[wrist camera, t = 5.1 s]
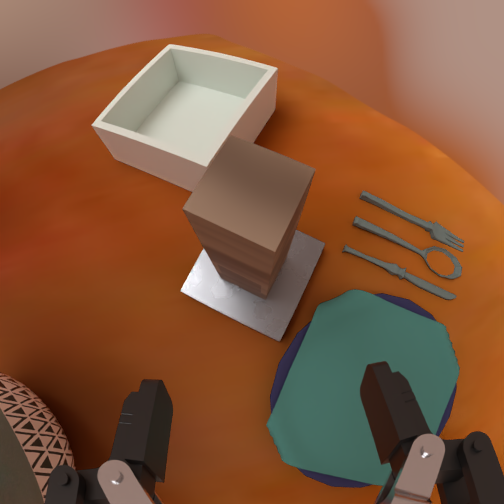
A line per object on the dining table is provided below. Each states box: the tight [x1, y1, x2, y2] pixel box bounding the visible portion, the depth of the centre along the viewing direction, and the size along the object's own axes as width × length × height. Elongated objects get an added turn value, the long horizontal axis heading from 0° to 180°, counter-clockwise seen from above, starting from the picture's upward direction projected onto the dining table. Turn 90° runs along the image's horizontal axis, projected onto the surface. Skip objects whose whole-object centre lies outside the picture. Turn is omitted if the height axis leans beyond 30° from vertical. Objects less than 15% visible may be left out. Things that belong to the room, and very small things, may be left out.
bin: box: [92, 44, 278, 192], centre depth 31 cm, size 15×15×7 cm
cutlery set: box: [266, 191, 464, 488], centre depth 26 cm, size 20×30×2 cm, turn 157°
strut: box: [183, 135, 315, 300], centre depth 21 cm, size 4×4×15 cm
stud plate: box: [181, 230, 325, 341], centre depth 27 cm, size 10×10×5 cm
